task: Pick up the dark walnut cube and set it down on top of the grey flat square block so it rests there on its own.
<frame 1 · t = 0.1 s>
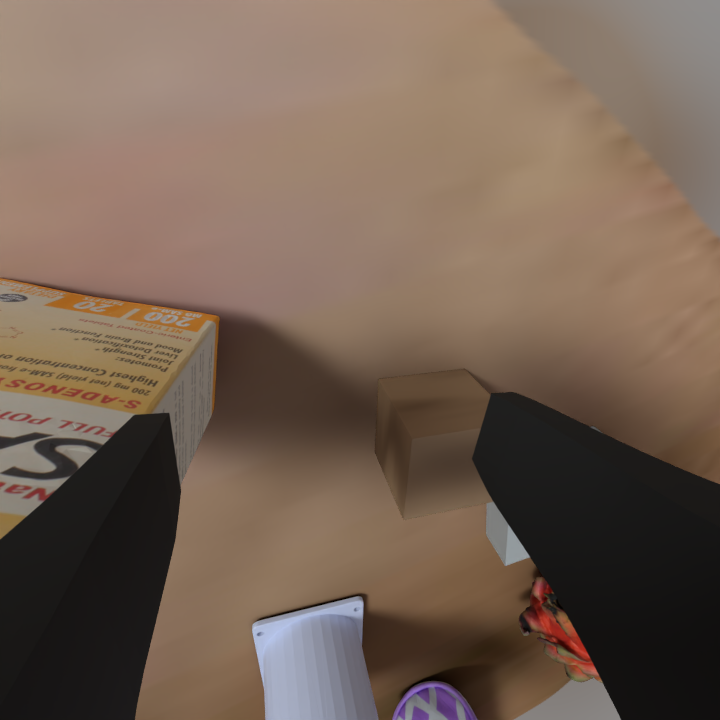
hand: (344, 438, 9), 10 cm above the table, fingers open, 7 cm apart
supplement box: (115, 344, 16), on the table
dragon fruit: (549, 574, 36), on the table
walnut cube: (417, 410, 22), on the table
pencil case: (432, 711, 44), on the table
grey flat square block: (533, 479, 29), on the table
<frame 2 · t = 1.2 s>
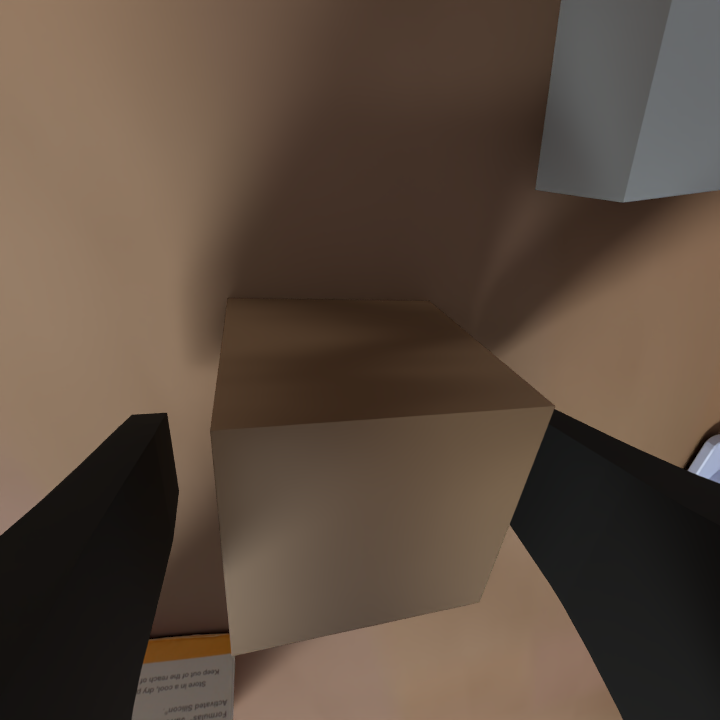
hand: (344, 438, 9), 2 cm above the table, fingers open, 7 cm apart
supplement box: (159, 688, 16), on the table
walnut cube: (328, 385, 11), on the table
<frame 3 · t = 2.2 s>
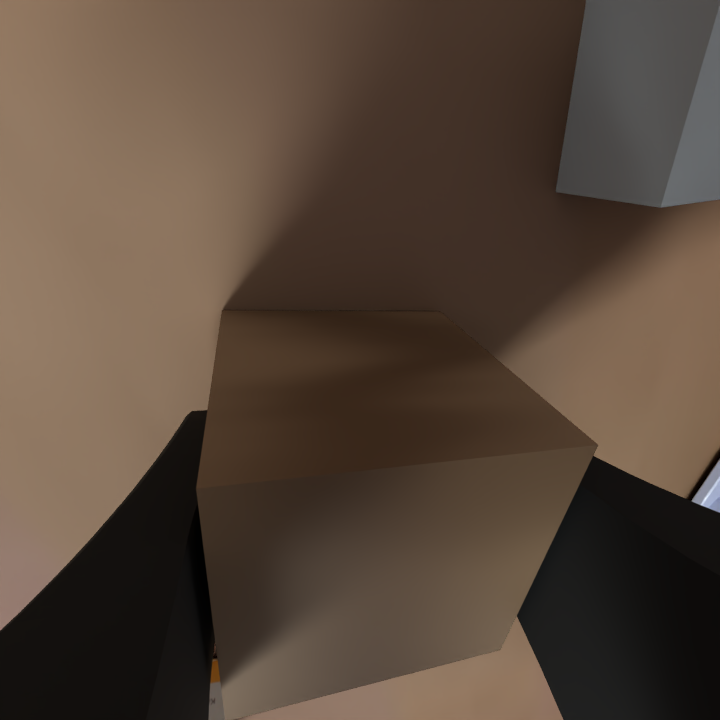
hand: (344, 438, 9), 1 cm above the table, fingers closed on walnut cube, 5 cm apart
supplement box: (153, 714, 15), on the table
walnut cube: (331, 403, 10), on the table, touching gripper
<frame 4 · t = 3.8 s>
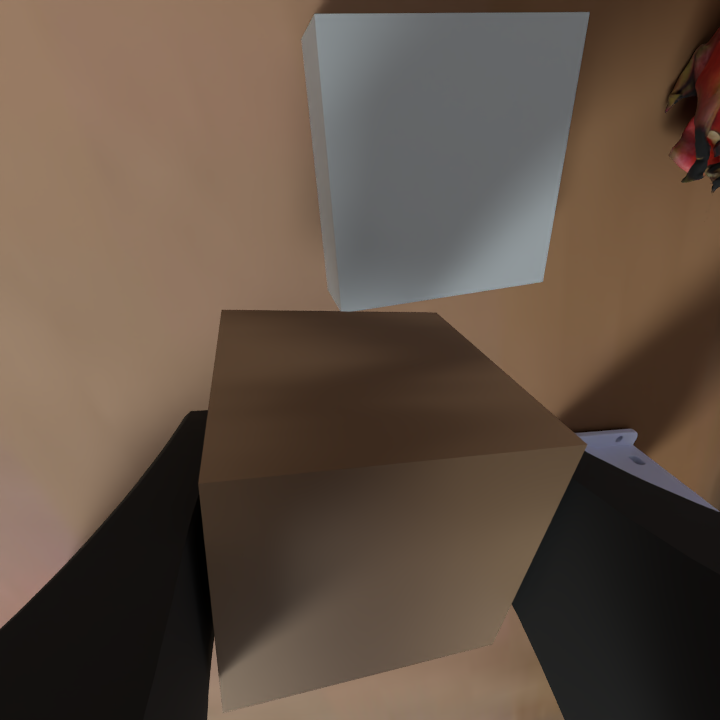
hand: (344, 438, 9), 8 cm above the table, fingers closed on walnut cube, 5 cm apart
walnut cube: (329, 402, 10), point 7 cm above the table, touching gripper
grey flat square block: (418, 172, 15), on the table
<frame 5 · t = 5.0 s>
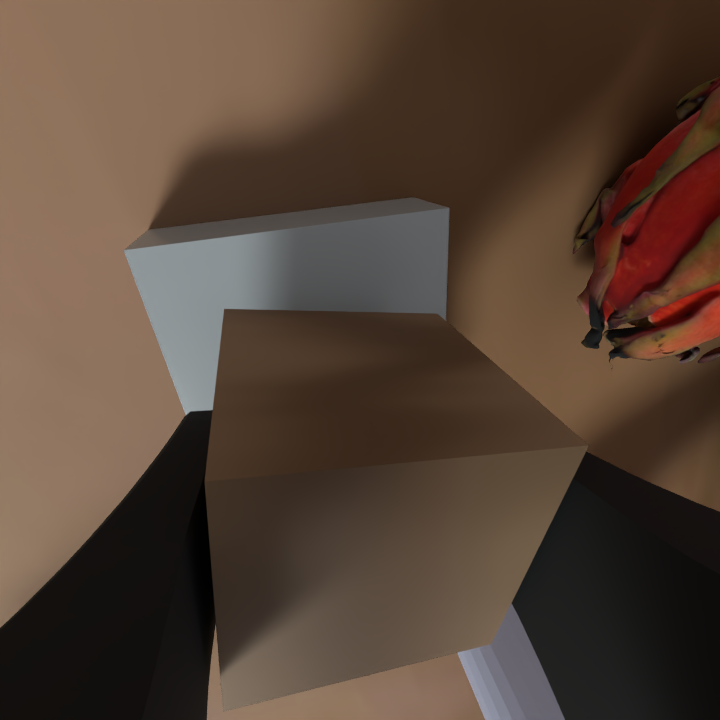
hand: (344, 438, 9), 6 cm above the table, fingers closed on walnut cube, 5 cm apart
dragon fruit: (646, 207, 15), on the table
walnut cube: (329, 402, 10), point 4 cm above the table, touching gripper
grey flat square block: (306, 327, 14), on the table
when the fingers open (6 cm above the table, at t = 5.5 s): walnut cube drops 2 cm, resting on grey flat square block.
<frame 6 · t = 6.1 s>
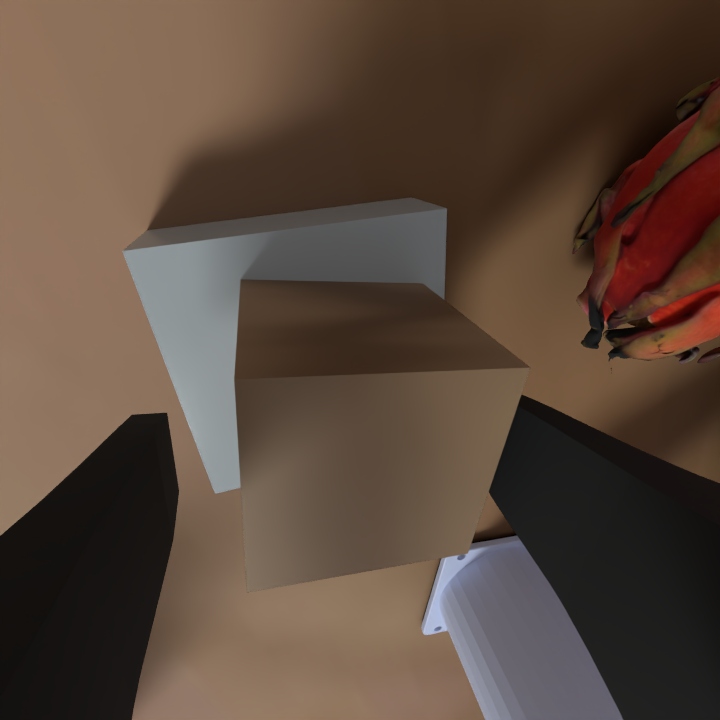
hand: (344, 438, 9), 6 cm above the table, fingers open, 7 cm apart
dragon fruit: (646, 207, 15), on the table
walnut cube: (331, 363, 12), point 3 cm above the table, touching grey flat square block
grey flat square block: (305, 327, 14), on the table, touching walnut cube
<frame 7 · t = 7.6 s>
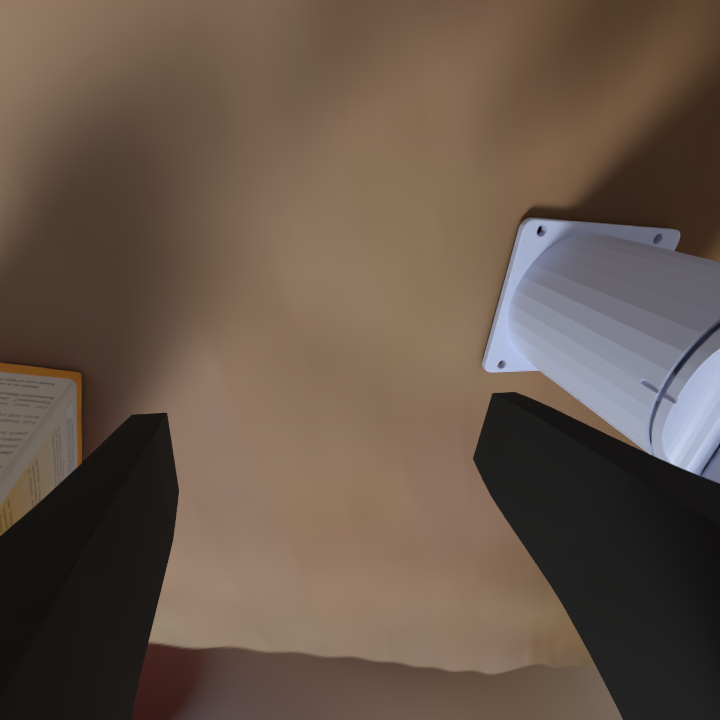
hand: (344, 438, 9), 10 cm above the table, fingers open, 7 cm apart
supplement box: (23, 438, 17), on the table
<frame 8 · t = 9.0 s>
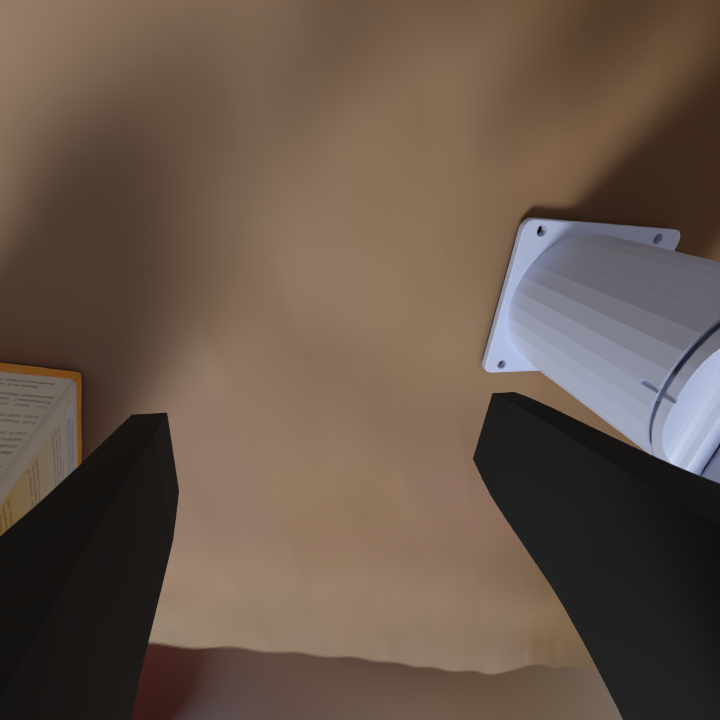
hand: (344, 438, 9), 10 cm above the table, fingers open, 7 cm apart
supplement box: (23, 438, 17), on the table
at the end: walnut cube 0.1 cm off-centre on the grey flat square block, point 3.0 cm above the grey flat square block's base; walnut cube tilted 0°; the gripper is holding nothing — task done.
